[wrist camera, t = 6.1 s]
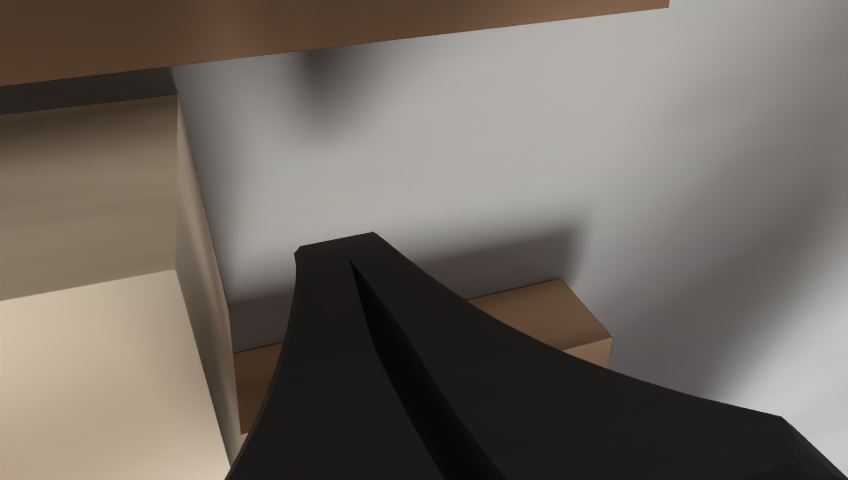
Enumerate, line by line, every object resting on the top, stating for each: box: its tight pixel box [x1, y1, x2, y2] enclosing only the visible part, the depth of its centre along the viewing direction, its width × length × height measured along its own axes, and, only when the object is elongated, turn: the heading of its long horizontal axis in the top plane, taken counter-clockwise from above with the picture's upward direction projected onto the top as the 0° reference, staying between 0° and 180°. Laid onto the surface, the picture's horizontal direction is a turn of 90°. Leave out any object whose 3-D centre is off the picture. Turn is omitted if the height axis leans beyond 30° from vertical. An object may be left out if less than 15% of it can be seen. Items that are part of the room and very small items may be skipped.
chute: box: [0, 0, 670, 445], centre depth 12 cm, size 10×14×3 cm
